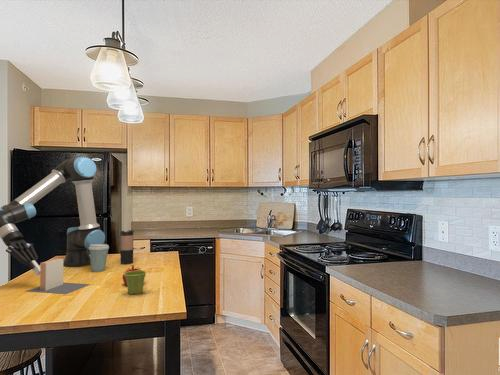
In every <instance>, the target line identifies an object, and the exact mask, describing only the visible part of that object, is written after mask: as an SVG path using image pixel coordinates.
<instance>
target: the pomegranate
mask: <svg viewBox="0 0 500 375" xmlns="http://www.w3.org/2000/svg"><path fill="white" fill-rule="evenodd" d="M139 267H140V266H137V267H135V266H134V264H132V265H131V268H130V267H129V268H127V269H126V270H125V272H124V273H126V272H130V271H143V270H142V269H141V268H139ZM124 273H123V274H122V277H121V278H122V281H123V285H125V286H126V287H127V282H126V278H125V275H124Z"/></svg>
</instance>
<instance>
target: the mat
mask: <svg viewBox="0 0 500 375" xmlns="http://www.w3.org/2000/svg"><path fill="white" fill-rule="evenodd" d="M91 285H92V284H90V283H80V282H79V283H78V282H77V283H75V282H64V281H63V285H60V286H57V287H54V288H51V289H49V290H40V285H39V286H37V287H34V288H33V287H32V288H30V289H28V290H25V292H29V293H30V292H31V293H40V294H42V293H44V294H55V295H58V294H59V295H68V294H71V293H73V292H75V291H78V290H81V289H83V288H86V287H88V286H91Z"/></svg>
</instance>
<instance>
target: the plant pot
mask: <svg viewBox="0 0 500 375" xmlns="http://www.w3.org/2000/svg"><path fill="white" fill-rule="evenodd" d="M125 272H126V271H125ZM125 272H123V274H124V275H125V278H126V282H127V286H126V287H127V288H126V289H127V294H129V295H139V294H142V293H143V292H144V284H145V277H146V274H147V271H146V270H142V271H130V272H126V273H125Z"/></svg>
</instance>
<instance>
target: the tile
mask: <svg viewBox="0 0 500 375" xmlns="http://www.w3.org/2000/svg"><path fill="white" fill-rule="evenodd" d="M63 262H64V258H55V259H50V260H47V261H43V262H40V264H39V267H40V274H39V275H40V276H39V277H40V279H39V280H40V281H39V284H40V285H39V286H40V290H49V289H51V288H54V287H57V286H60V285H63V282H64V266H63Z"/></svg>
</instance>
